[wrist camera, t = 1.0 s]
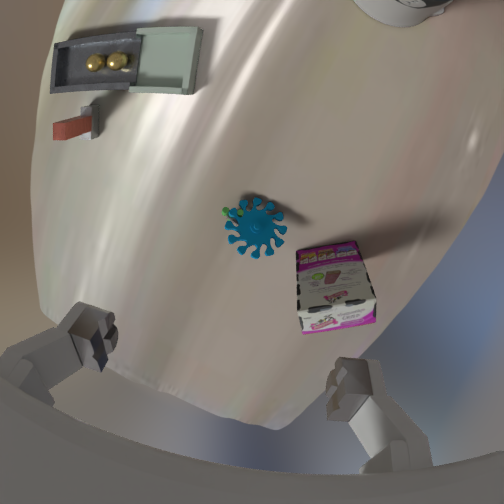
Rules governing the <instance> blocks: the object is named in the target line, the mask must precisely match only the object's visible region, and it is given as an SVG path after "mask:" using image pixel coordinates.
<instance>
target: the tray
mask: <svg viewBox="0 0 504 504" xmlns="http://www.w3.org/2000/svg"><path fill="white" fill-rule="evenodd" d="M136 34H138V35H142V36H143V38H142V44H141V51H140V59H139V66H138V75H137V84H136V86H130V87H129V92H131V93H166V94H183V95H191V94H194V86H195V79H196V72H197V65H198V59H199V52H200V46H201V40H202V34H203V30H202V29H201V28H199V27H150V28H137V32H136Z"/></svg>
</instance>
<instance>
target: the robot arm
mask: <svg viewBox="0 0 504 504" xmlns="http://www.w3.org/2000/svg"><path fill="white" fill-rule="evenodd" d="M452 1H453V0H354V2H355V3H356V4H357V5H358V6H359V7H360V8H361V9H362V10H363V11H364V12H365V13H366V14H368V15H369V16H371V17H372V18H374V19H376V20H378V21H380V22H382V23H384V24H387V25H391V26H395V27H411V26H414V25H417V24H419V23H421V22H422V21H423V20H425V19H426V18H427V17H429V16H437V15H440V14H442V13H443V12H444V7H445V6H446V5H448V4H449V3H451V2H452ZM114 321H115V316H114V313H113V312H110V311H107V310H104V309H101V308H98V307H95V306H92V305H89V304H86V303H83V302H80V301H79V302H77V303H76V304H75V305H74V306H73V307H72V309H71V310H70V311H69V312H68V314H67V315H66V316H65V317H64V319H63V320H62V321H61V322H60V324H59V325H58V326H57V328H54V327H53V328H50V329H48V330H46V331H44V332H42V333H40V334H37V335H35V336H33V337H30V338H28V339H26V340H24V341H21V342H19V343H17V344H15V345H13V346H10V347H8V348H7V349H6V350H5V351H4V353H3V354H2V356H1V357H0V504H504V451H496V452H493V453H490V454H486V455H483V456H479V457H475V458H471V459H467V460H463V461H459V462H454V463H449V464H444V465H439V466H433V463H432V457H431V452H430V447H429V442H428V437H427V436H426V435H425V434H424V433H423V432H422V430H421V429H420V428H419V427H418V426H417V425H416V424H415V423H414V422H413V420H412V419H411V418H410V417H409V416H408V415H407V414H406V413H405V412H404V411H403V410H402V408H401V407H400V406H399V405H398V404H397V403H396V402H395V401H394V400H393V398H392V397H390V396H387V393H386V388H385V384H384V379H383V374H382V370H381V366H380V362H379V361H378V360H367V359H358V358H347V357H339V358H338V359H337V360H336V362H335V369H333V370H332V371H330V373H329V376H328V378H327V382H326V396H327V397H328V398H329V399H330V400H329V402H328V403H327V405H326V408H327V420H331V421H345V422H349V425H350V426H351V428H352V429H353V431H354V432H355V434H356V436H357V437H358V439H359V440H360V442H361V443H362V445H363V447H364V448H365V450H366V451H367V453H368V454H369V456H370V457H371V459H370V460H369V461H368V462H367V463H365V464H364V465H363V466H362V467H361V468H359V474H350V475H321V474H318V475H317V474H298V473H284V472H274V471H264V470H256V469H248V468H242V467H236V466H230V465H223V464H219V463H214V462H209V461H204V460H199V459H195V458H191V457H187V456H183V455H179V454H175V453H171V452H167V451H163V450H161V449H157V448H153V447H150V446H147V445H144V444H141V443H138V442H135V441H132V440H129V439H126V438H124V437H120V436H118V435H115V434H113V433H110V432H107V431H105V430H102V429H100V428H98V427H95V426H93V425H90V424H88V423H85V422H83V421H81V420H79V419H77V418H75V417H72V416H70V415H68V414H66V413H64V412H62V411H60V410H58V409H56V408H54V407H53V405H54V403H55V401H54V398H53V397H52V395H51V394H50V393H49V391H48V390H49V389H51V388H52V387H54V386H55V385H57V384H58V383H60V382H61V381H63V380H64V379H66V378H67V377H69V376H70V375H72V374H73V373H75V372H76V371H78V370H79V369H81V368H82V366H84V367H86V368H89V369H92V370H95V371H98V372H102V370H103V369H104V367H105V365H106V363H107V361H108V356H107V354H109V353H111V352H113V351H114V349H115V347H116V345H117V341H118V329H117V327H116V326H115V325H114V324H113V323H114Z"/></svg>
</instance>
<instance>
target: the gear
mask: <svg viewBox="0 0 504 504" xmlns="http://www.w3.org/2000/svg"><path fill="white" fill-rule="evenodd" d="M261 202H262V200H261V199H259V198H256V197H255V198H254V200H253V208H252V210H251V211H247V210H246V206H247V204H248V201H247V200H241V201H240V202H239V206H240V207H241V209H242V210H241V209H239V210H238V211H237V209H236V208H232V209H231V210H229V208H227V207H224V208H223V210H222V215H224V216H226V215H227V218H228V221H227V222H226V225H225V229H226V230H235V231H237V232H238V233H239V234H240V237H236V236H234V235H229V236H228V242H229V244H233V243H234V242H236V241H245V242H246V243H247V245H246V246H239V247H238V249H237V251H238V252H239V254H241V255H243V254H244V253H245V252H246V249H247V248H248V247H250V246H252V245H255V246H256V248H257V249H256V250H255V251H253V252H252V253H251V257H252V258H254V259H258V258H259V257H260V247H261V246H262V244H265V245H266V246H267V249H266V251H265V255H266V256H271V255H273V254H274V250H273V249H272V247H271V245H270V238H273V239H275V246H276V247H280V246H281V245H282V244H283V243H284V241H283V240H282V239H280V238H279V237H277V236H276V234H275V232H274V229H277V230H278V231H279V233H280V234H282V235H284V234H285V233H286V231H287V227H286V226H279V225H277V224H275V223H273V221H272V219H276V220H277V221H282V220H283V218H284V217H283V214H282V212H279V213H277V214H275V215H267V214H266V211H272V210H273V209H274V207H275V206H274V205H273V203H271V202H268V204H267V205H266V207H265V208H264V209H262V210H260V211H259V210H257V209H256V207H257V206H259V205H260V204H261ZM242 215H243V216H242ZM231 221H232V222H233V223H235V224H236V225H238V226H237V227H235V226H234V225H233V223H232V222H231Z"/></svg>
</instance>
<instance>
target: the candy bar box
mask: <svg viewBox="0 0 504 504" xmlns="http://www.w3.org/2000/svg"><path fill="white" fill-rule="evenodd" d="M296 273H297V312H298V316H299V320H300V325H301V329H302V334H303V335H304V334H311V333H318V332H324V331H331V330H337V329H343V328H349V327H355V326H360V325H366V324H372V323H376V296H375V293H374V290H373V287H372V284H371V281H370V279H369V276H368V273H367V270H366V267H365V264H364V262H363V259H362V256H361V253H360V251H359V248H358V245H357V243H356V241H351V242H345V243H340V244H334V245H329V246H323V247H317V248H311V249H305V250H299V251H296Z"/></svg>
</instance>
